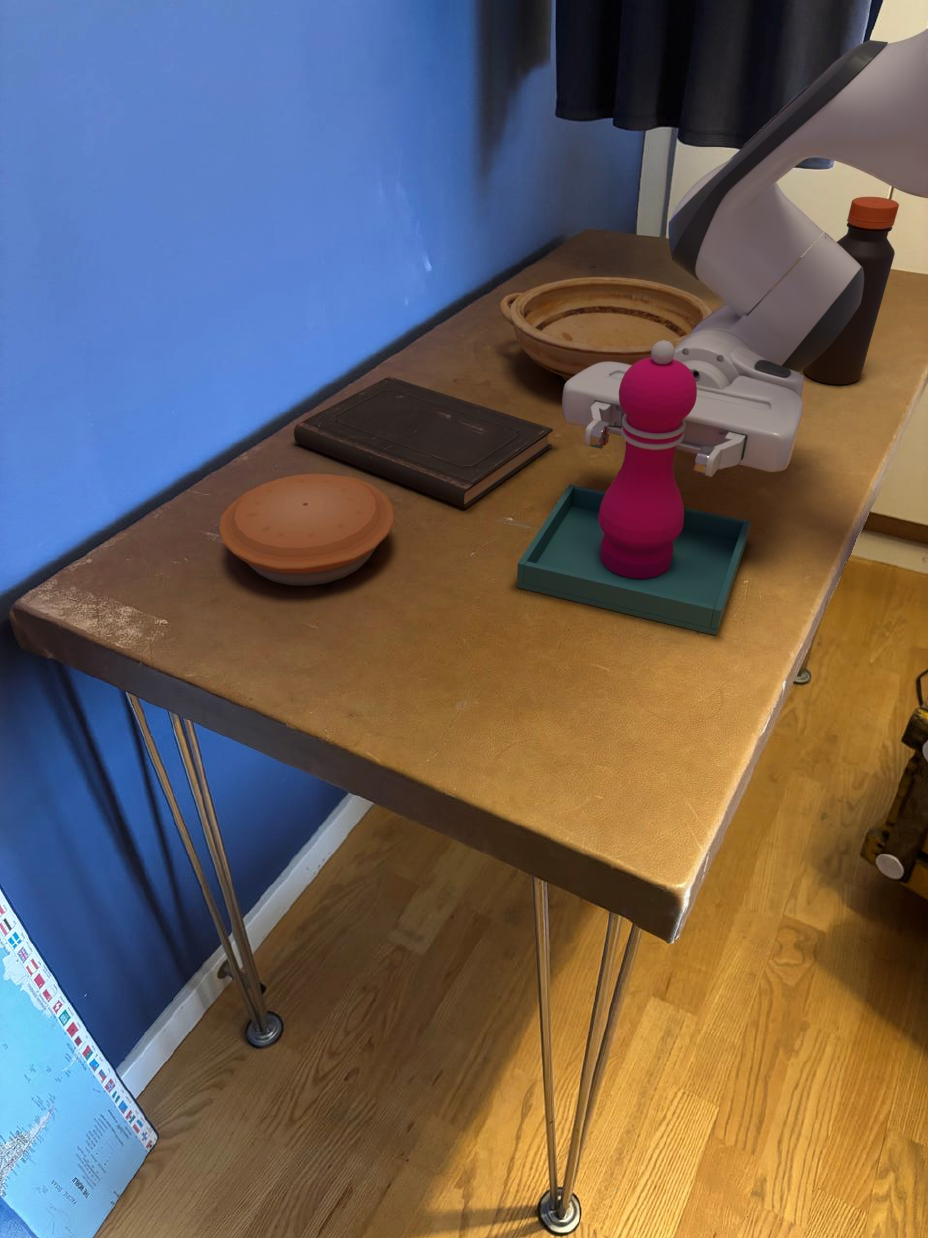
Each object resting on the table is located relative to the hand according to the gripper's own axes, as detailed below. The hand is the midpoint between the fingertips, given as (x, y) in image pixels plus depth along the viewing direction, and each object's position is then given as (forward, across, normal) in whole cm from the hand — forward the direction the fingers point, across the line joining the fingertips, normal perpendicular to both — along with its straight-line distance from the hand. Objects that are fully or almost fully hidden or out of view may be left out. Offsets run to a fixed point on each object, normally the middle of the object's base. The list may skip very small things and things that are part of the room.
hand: (646, 452), depth 73 cm
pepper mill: (-1, 0, +11) cm, 11 cm away
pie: (+11, -27, +12) cm, 31 cm away
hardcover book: (-10, -28, +12) cm, 33 cm away
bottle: (-51, +6, +12) cm, 53 cm away
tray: (-1, 0, +12) cm, 12 cm away
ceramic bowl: (-38, -19, +12) cm, 44 cm away
